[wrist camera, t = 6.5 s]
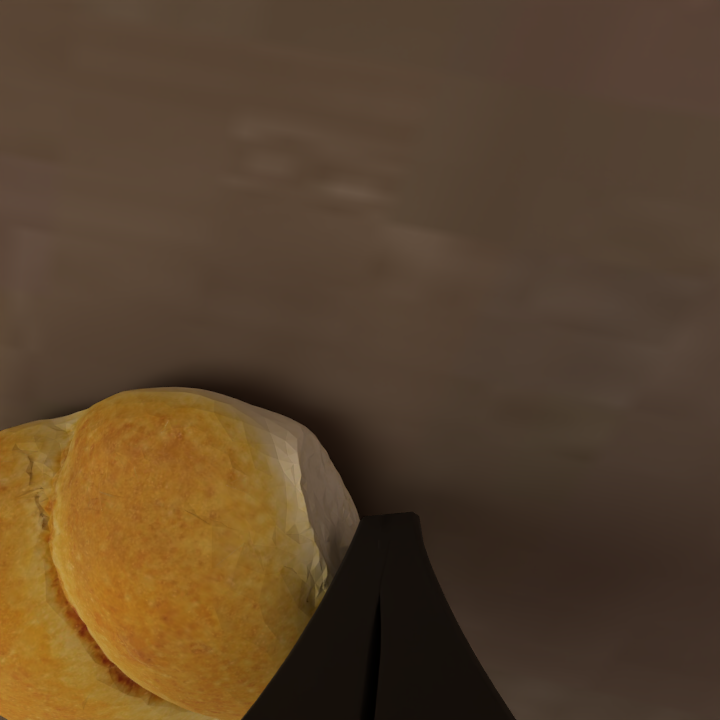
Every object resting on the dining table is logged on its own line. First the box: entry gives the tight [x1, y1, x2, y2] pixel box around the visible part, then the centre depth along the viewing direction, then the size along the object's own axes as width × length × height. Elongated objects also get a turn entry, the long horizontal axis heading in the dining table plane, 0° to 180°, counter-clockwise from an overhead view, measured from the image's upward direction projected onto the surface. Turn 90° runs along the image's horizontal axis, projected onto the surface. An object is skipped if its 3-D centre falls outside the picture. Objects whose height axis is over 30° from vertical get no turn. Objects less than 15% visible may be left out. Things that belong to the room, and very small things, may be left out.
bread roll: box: [0, 387, 360, 720], centre depth 11 cm, size 8×9×4 cm
